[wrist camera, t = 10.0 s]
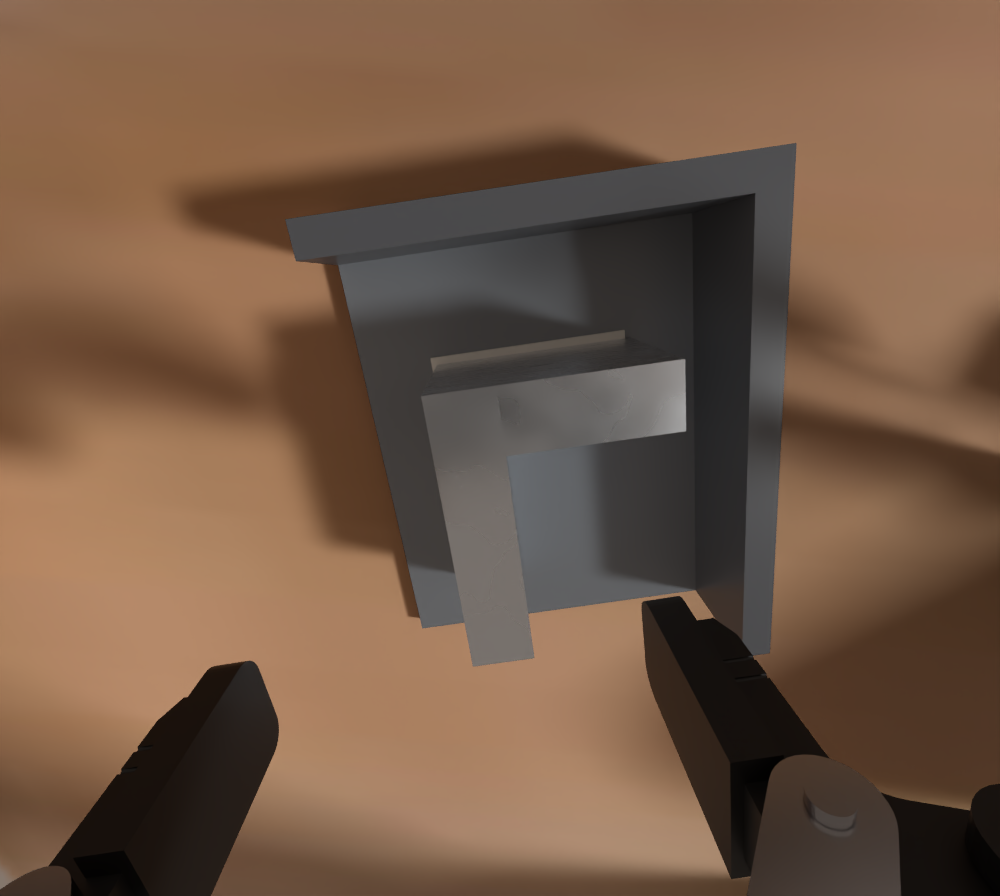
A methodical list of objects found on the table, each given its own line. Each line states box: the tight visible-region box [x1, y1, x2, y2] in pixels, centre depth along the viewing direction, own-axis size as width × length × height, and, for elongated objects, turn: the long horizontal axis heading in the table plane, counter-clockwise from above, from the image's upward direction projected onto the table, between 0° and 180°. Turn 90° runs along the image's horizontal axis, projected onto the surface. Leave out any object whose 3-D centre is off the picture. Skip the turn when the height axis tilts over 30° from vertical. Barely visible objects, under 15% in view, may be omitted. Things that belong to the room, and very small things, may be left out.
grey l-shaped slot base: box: [285, 143, 796, 655], centre depth 17 cm, size 16×13×5 cm
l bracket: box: [421, 337, 686, 666], centre depth 17 cm, size 9×7×5 cm
